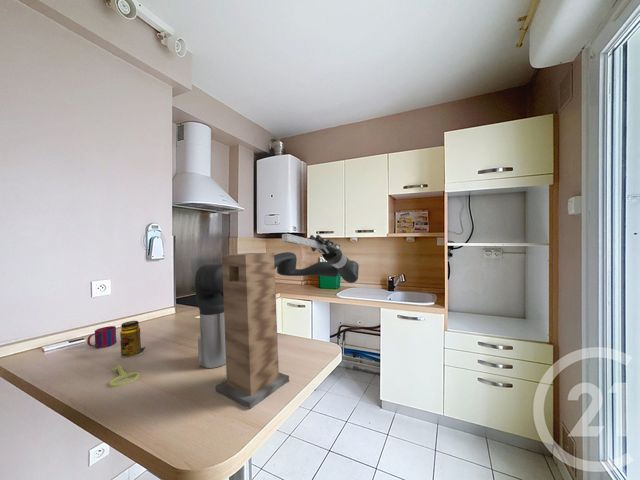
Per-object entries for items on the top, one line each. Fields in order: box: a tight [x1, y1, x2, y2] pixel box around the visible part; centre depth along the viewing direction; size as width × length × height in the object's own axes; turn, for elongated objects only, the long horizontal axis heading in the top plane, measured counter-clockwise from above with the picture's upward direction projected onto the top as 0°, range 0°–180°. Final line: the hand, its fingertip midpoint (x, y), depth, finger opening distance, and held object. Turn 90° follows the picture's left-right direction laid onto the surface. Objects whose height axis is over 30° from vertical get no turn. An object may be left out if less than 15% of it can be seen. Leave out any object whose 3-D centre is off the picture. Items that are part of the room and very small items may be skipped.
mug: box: [86, 325, 117, 349], centre depth 103 cm, size 7×10×7 cm
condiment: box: [117, 320, 147, 360], centre depth 95 cm, size 7×8×12 cm
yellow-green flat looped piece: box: [108, 364, 140, 388], centre depth 77 cm, size 7×12×2 cm, turn 65°
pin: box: [281, 233, 324, 249], centre depth 92 cm, size 24×2×2 cm, turn 145°
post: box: [215, 252, 290, 410], centre depth 70 cm, size 14×14×37 cm
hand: (313, 237), depth 96 cm, fingers closed on pin, 2 cm apart
